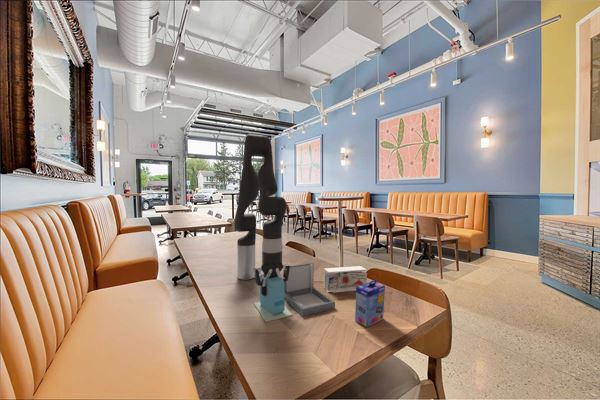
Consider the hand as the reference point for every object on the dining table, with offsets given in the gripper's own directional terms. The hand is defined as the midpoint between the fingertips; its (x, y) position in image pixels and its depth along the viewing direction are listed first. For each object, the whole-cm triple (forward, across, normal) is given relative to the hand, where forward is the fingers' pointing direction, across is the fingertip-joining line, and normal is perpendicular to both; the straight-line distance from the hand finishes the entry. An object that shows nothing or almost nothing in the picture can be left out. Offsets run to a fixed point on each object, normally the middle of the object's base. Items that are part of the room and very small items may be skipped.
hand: (272, 293), depth 92 cm
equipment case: (+6, -15, +1) cm, 16 cm away
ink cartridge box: (+6, -28, +22) cm, 36 cm away
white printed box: (+6, -38, -5) cm, 39 cm away
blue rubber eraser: (+6, 0, 0) cm, 6 cm away
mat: (+6, 0, 0) cm, 6 cm away
